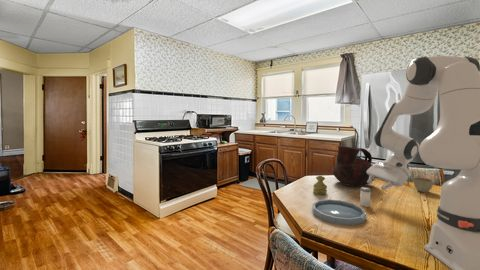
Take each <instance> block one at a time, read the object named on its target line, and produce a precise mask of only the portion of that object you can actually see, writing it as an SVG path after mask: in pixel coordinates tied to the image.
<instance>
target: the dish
mask: <svg viewBox="0 0 480 270" xmlns="http://www.w3.org/2000/svg"><path fill="white" fill-rule="evenodd" d="M311 207H312V209H311V210H312V214H313V215H315V217H318V218H319V219H320V220H322V221H326V222H329V223H332V224H335V225H342V226H343V225H344V226H345V225H346V226H354V225H360V224H363V223H364V222H365V221H366V220H367V212H366V211H365V209H364V208H363V207H362V206H359V205H357V204H355V203H352V202H349V201H344V200H339V199H327V198H326V199H319V200H317V201H315V202H313V203H312V206H311Z"/></svg>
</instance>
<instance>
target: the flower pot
mask: <svg viewBox="0 0 480 270" xmlns="http://www.w3.org/2000/svg"><path fill="white" fill-rule="evenodd" d="M412 181H413V185H414V187H415V189H416V191H418V192H420V193H425V194H426V193H429V191H430V190H431V189H432V188H433V186H434V183H435V180H433V179H430V178H426V177H418V176H417V177H413V178H412Z"/></svg>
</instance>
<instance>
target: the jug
mask: <svg viewBox="0 0 480 270" xmlns="http://www.w3.org/2000/svg"><path fill="white" fill-rule="evenodd" d="M359 152H361V153H362V154H363V156H364V159H363V158H361V157H357V156H358V155H359ZM372 158H373V157H372V154H371V152H370V151H369V150H368V149H365V148H363V147H362V148H361V147H349V146H344V145H338V146H337V154H336V163H335V164H334V167H333V169H332V174H333V176H334V177H335V179H336V180H337V181H339V182H340V183H342V184H343V185H345V186H346V185H347V186H351V187H365V186H367V185H369V184H368V183H367V181H368V180H369V175H368V174H367V170H368V169H369V168H370V167H371V166H372V165H373V164H372V160H373V159H372ZM375 180H376V178H374V179H372V182H374V181H375Z"/></svg>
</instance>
